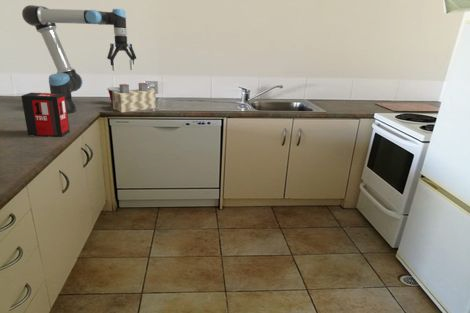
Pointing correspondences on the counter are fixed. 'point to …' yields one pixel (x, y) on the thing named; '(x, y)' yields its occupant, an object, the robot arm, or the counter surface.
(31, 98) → the cleaning product box
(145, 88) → the peg far
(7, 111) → the counter surface
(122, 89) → the peg near
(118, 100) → the collar block
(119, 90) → the plastic cup
